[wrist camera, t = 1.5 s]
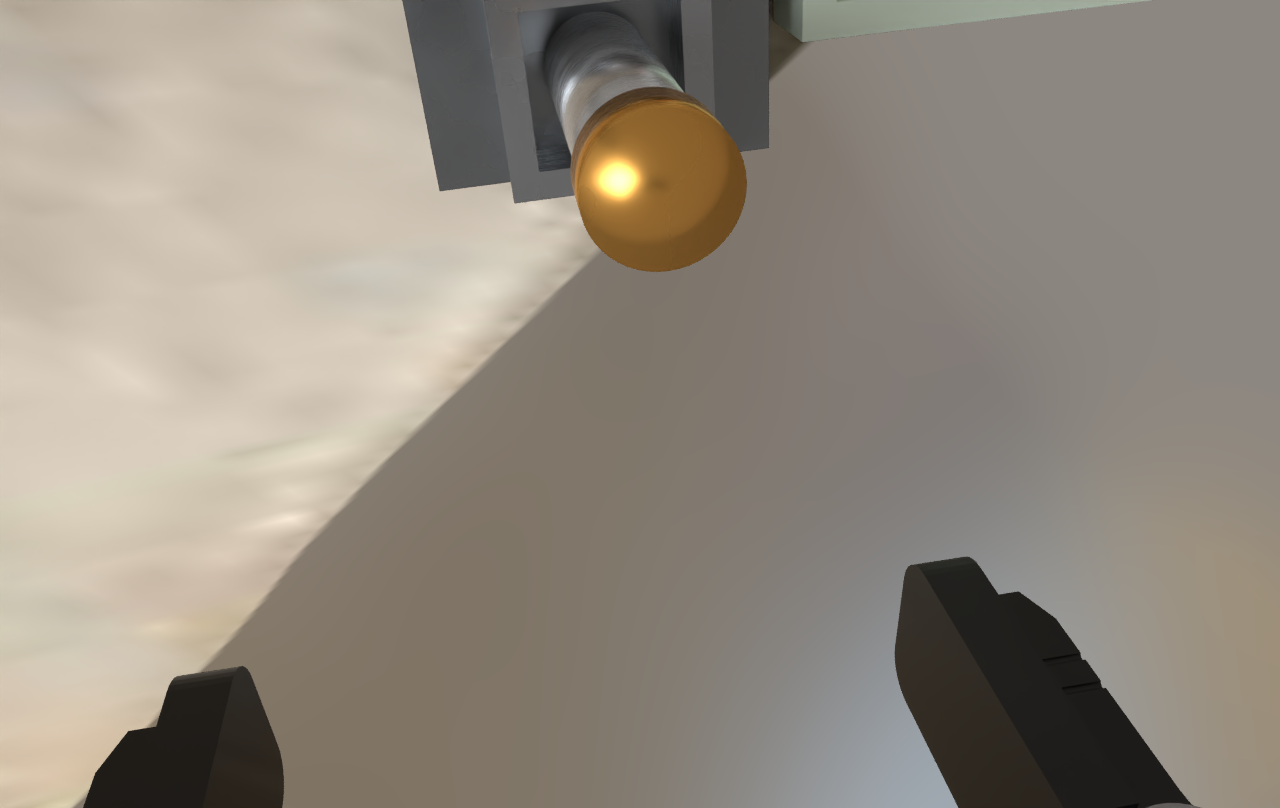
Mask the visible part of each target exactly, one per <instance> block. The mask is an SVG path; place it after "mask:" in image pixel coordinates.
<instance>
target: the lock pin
mask: <svg viewBox="0 0 1280 808" xmlns="http://www.w3.org/2000/svg"><path fill="white" fill-rule="evenodd" d="M544 70H545V78H546V82H547V85H548V88H549V91H550V94H551V97H552V100H553V103H554V106H555V109H556V112H557V115H558V118H559V121H560V124H561V126H562V129H563V132H564V135H565V138H566V141H567V144H568V147H569V150H570V153H571V156H572V157H571V166H570V173H571V183H572V188H573V191H574V195H575V198H576V201H577V204H578V207H579V210H580V214H581V217H582V220H583V223H584V226H585V228H586V230H587V232H588V234H589V235H590V237H591V238H592V240H593V241H594V243H595V244H596V245H597V246H598V247H599V248H600V249H601V250H602V251H603V252H604V253H605V254H607V255H608V256H609V257H610V258H612V259H613V260H615V261H617V262H618V263H621V264H623V265H625V266H627V267H631V268H633V269H637V270H642V271H650V272H661V271H670V270H676V269H680V268H683V267H686V266H689V265H691V264H693V263H695V262H698V261H699V260H701V259H703V258H704V257H706V256H708V255H709V254H710V253H712V252H713V251H714V250H715V249H717V247H719V246H720V245H721V244H722V243H723V242H724V241H725V239H726V238H727V237H728V236H729V234H730V233H731V232H732V230H733V228H734V227H735V225H736V223H737V221H738V219H739V217H740V215H741V212H742V209H743V206H744V202H745V197H746V187H747V179H746V170H745V166H744V161H743V159H742V156H741V153H740V151H739V149H738V147H737V145H736V144H735V142H734V141H733V139H732V138H731V137H730V135H729V134H728V133H727V131H726V130H725V129H724V128H723V126H722V125H721V124H720V123H719V121H718V120H717V119H716V117H715V116H714V115H713V114H712V112H711V111H710V110H709V109H708V108H707V107H706V106H705V105H704V104H702V103H701V102H700V101H698V100H697V99H696V98H694V97H692V96H690V95H688V94H687V93H684V92H683V90H682V89H681V88H680V86H679V85H678V84H677V82H676V81H675V80H674V78H673V77H672V76H671V74H670V73H669V72H668V70H667V69H666V68H665V66H664V65H663V64H662V62H661V61H660V60H659V58H658V57H657V56H656V54H655V53H654V52H653V50H652V49H651V48H650V46H649V45H648V44H647V42H646V41H645V40H644V38H643V37H642V36H641V34H640V33H639V32H638V30H637V29H636V28H635V27H634V26H633V25H632V24H631V23H630V22H628V21H627V20H626V19H624V18H622V17H620V16H618V15H616V14H613V13H609V12H603V11H592V12H587V13H583V14H580V15H577V16H575V17H573V18H571V19H570V20H568V21H567V22H566V23H564V24H563V25H562V26H561V27H560V28H559V29H558V30H557V32H556V33H555V34H554V36H553V37H552V39H551V41H550V43H549V45H548V48H547V51H546V55H545V63H544Z"/></svg>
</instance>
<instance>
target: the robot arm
mask: <svg viewBox="0 0 1280 808" xmlns="http://www.w3.org/2000/svg"><path fill="white" fill-rule="evenodd" d="M895 665H896V671H897V676H898V681H899V684H900V688H901V691H902V693H903V696H904V698H905V701H906V703H907V705H908V707H909V709H910V711H911V713H912V715H913V717H914V719H915V721H916V723H917V725H918V727H919V729H920V731H921V733H922V735H923V737H924V739H925V741H926V743H927V745H928V747H929V749H930V751H931V753H932V755H933V757H934V759H935V761H936V763H937V765H938V767H939V769H940V771H941V773H942V775H943V777H944V779H945V782H946V784H947V786H948V787H949V789H950V792H951V793H952V795H953V798H954V799H955V802H956V804H957V806H958V808H1200V807H1196V806H1193V805H1192V804H1191V803H1190V802H1189V801H1188V800H1187V799H1186V797H1185V796H1184V795H1183V794H1182V792H1181V791H1180V790H1179V788H1178V787H1177V786H1176V784H1175V783H1174V782H1173V780H1172V779H1171V777H1170V776H1169V775H1168V773H1167V772H1166V771H1165V769H1164V768H1163V766H1162V765H1161V764H1160V762H1159V761H1158V759H1157V758H1156V757H1155V755H1154V754H1153V753H1152V751H1151V750H1150V748H1149V747H1148V745H1147V744H1146V743H1145V741H1144V740H1143V739H1142V737H1141V736H1140V735H1139V733H1138V732H1137V730H1136V729H1135V727H1134V726H1133V725H1132V723H1131V722H1130V721H1129V719H1128V718H1127V716H1126V715H1125V714H1124V712H1123V711H1122V710H1121V708H1120V707H1119V705H1118V704H1117V703H1116V701H1115V700H1114V698H1113V697H1112V696H1111V695H1110V693H1109V692H1108V690H1107V689H1106V688H1102V686H1101V681H1100V679H1099V678H1098V676H1097V675H1096V674H1095V672H1094V671H1093V669H1092V668H1091V667H1090V665H1089V664H1088V662H1087V661H1086V660H1082V658H1081V655H1080V652H1079V650H1078V649H1077V647H1076V646H1075V644H1074V643H1073V642H1072V640H1071V639H1070V638H1069V636H1068V635H1067V633H1066V632H1065V631H1064V629H1063V628H1062V627H1061V625H1060V624H1059V622H1058V621H1057V620H1056V619H1055V618H1054V617H1053V616H1051V615H1050V614H1049V613H1047V612H1046V611H1045V610H1043V609H1042V608H1041V607H1039V606H1038V605H1036V604H1035V603H1034V602H1032V601H1031V600H1030V599H1028V598H1027V597H1025V596H1024V595H1023V594H1021V593H1020V592H1013V593H1006V594H1000V595H998V593H997V592H996V590H995V589H994V587H993V586H992V585H991V583H990V582H989V580H988V578H987V577H986V575H985V574H984V572H983V571H982V569H981V568H980V567H979V565H978V564H977V563H976V562H975V561H974V560H973V559H972V558H970V557H960V558H954V559H948V560H941V561H934V562H929V563H922V564H916V565H910V566H909V567H908V568H907V570H906V572H905V576H904V583H903V590H902V598H901V606H900V613H899V622H898V629H897V637H896V644H895ZM283 795H284V776H283V765H282V759H281V754H280V750H279V747H278V745H277V742H276V739H275V736H274V734H273V731H272V729H271V726H270V723H269V721H268V718H267V716H266V713H265V710H264V708H263V705H262V703H261V700H260V697H259V695H258V692H257V690H256V687H255V685H254V682H253V679H252V677H251V675H250V672H249V671H248V669H247V668H245V667H243V666H241V667H234V668H227V669H221V670H214V671H208V672H201V673H195V674H188V675H182V676H177V677H175V678H174V679H173V680H172V681H171V683H170V685H169V688H168V690H167V693H166V697H165V700H164V703H163V706H162V710H161V713H160V716H159V719H158V723H157V726H156V727H151V728H145V729H139V730H132V731H128V732H127V734H126V735H125V736H124V737H123V739H122V740H121V741H120V742H119V744H118V745H117V746H116V748H115V749H114V750H113V751H112V753H111V754H110V755H109V756H108V758H107V759H106V760H105V762H104V763H103V764H102V765H101V767H100V768H99V769H98V770H97V772H96V773H95V776H94V778H93V781H92V784H91V787H90V790H89V793H88V795H87V798H86V801H85V804H84V807H83V808H282V805H283Z"/></svg>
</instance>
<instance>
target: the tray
mask: <svg viewBox="0 0 1280 808" xmlns="http://www.w3.org/2000/svg"><path fill="white" fill-rule="evenodd" d="M1141 1H1150V0H773V21H775V22H776V23H777V24H779V25H780V26H781V27H783V28H784V29H785V30H787V31H788V32H789V33H790V34H792V35H793V36H794V37H796V38H797V39H798V40H800V41H801V42H810V41H818V40H826V39H835V38H843V37H852V36H860V35H868V34H876V33H885V32H893V31H901V30H909V29H917V28H926V27H934V26H943V25H951V24H958V23H967V22H975V21H984V20H992V19H1000V18H1008V17H1017V16H1025V15H1033V14H1042V13H1050V12H1059V11H1066V10H1075V9H1083V8H1092V7H1100V6H1108V5H1117V4H1125V3H1133V2H1141Z"/></svg>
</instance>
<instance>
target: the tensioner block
mask: <svg viewBox="0 0 1280 808" xmlns="http://www.w3.org/2000/svg"><path fill="white" fill-rule="evenodd" d="M402 1H403V6H404V11H405V16H406V21H407V26H408V31H409V37H410V42H411V47H412V52H413V57H414V62H415V67H416V72H417V78H418V83H419V88H420V93H421V98H422V103H423V108H424V113H425V119H426V124H427V129H428V134H429V139H430V144H431V149H432V154H433V159H434V165H435V170H436V175H437V180H438V185H439V190H440V191H445V190H453V189H460V188H468V187H476V186H483V185H491V184H498V183H506V182H511V186H512V192H513V198H514V203H521V202H528V201H536V200H543V199H551V198H558V197H566V196H573V195H574V191H573V188H572V183H571V173H570V166H571V157H572V156H571V153H570V150H569V147H568V144H567V141H566V138H565V135H564V132H563V129H562V126H561V124H560V121H559V118H558V115H557V112H556V109H555V106H554V103H553V100H552V97H551V94H550V91H549V88H548V85H547V82H546V78H545V70H544V63H545V55H546V51H547V48H548V45H549V43H550V41H551V39H552V37H553V36H554V34H555V33H556V32H557V30H558V29H559V28H560V27H561V26H562V25H563V24H564V23H566V22H567V21H568V20H570V19H571V18H573V17H575V16H577V15H580V14H583V13H587V12H592V11H603V12H609V13H613V14H616V15H618V16H620V17H622V18H624V19H626V20H627V21H628V22H630V23H631V24H632V25H633V26H634V27H635V28H636V29H637V30H638V32H639V33H640V34H641V36H642V37H643V38H644V40H645V41H646V42H647V44H648V45H649V46H650V48H651V49H652V50H653V52H654V53H655V54H656V56H657V57H658V58H659V60H660V61H661V62H662V64H663V65H664V66H665V68H666V69H667V70H668V72H669V73H670V74H671V76H672V77H673V78H674V80H675V81H676V82H677V84H678V85H679V86H680V88H681V89H682V90H683V92H684V93H687V94H688V95H690V96H692V97H694V98H696V99H697V100H698V101H700V102H701V103H702V104H704V105H705V106H706V107H707V108H708V109H709V110H710V111H711V112H712V114H713V115H714V116H715V117H716V119H717V120H718V121H719V123H720V124H721V125H722V126H723V128H724V129H725V130H726V131H727V133H728V134H729V135H730V137H731V138H732V139H733V141H734V142H735V144H736V145H737V147H738V149H739V151H740V152H742V151H749V150H757V149H765V148H769V0H402Z"/></svg>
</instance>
